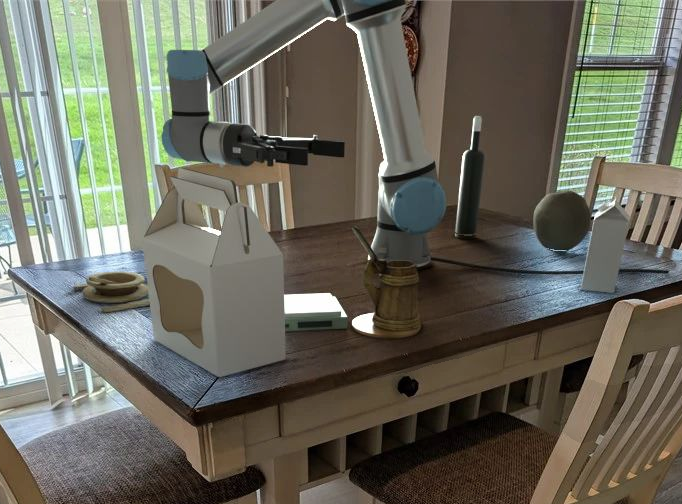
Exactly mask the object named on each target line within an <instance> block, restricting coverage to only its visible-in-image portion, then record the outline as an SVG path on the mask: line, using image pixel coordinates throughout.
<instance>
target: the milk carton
mask: <svg viewBox="0 0 682 504" xmlns="http://www.w3.org/2000/svg"><path fill="white" fill-rule="evenodd" d="M617 198H618V194H615V198H614V200H613V201H612V202H610V203H609V204H608V202H607V201H604V202H603V203H602V204H601V203H600V205H599V206H597V208H596V209H597V212H595V214H594V219H593V223H592V228H591V232H590V238H589V242H588V247H587V253H586V258H585V264H584V269H583V270H584V274H582V279H581V285H580V290H581V291H591V292H598V293H609V294H614V293H615V291H616V290H615V289H616V285H617V281H618V276H619V273H620V272H619V269H620V266H621V262H622V257H623V254H624V248H625V243H626V239H627V234H628V231H629V225H630V218H631V217H630V215H629V213H628V212H627V211H626V210H625V209H624V208H623V207H622V205H621V204H620V203H619V202H618V201H617Z"/></svg>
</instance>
